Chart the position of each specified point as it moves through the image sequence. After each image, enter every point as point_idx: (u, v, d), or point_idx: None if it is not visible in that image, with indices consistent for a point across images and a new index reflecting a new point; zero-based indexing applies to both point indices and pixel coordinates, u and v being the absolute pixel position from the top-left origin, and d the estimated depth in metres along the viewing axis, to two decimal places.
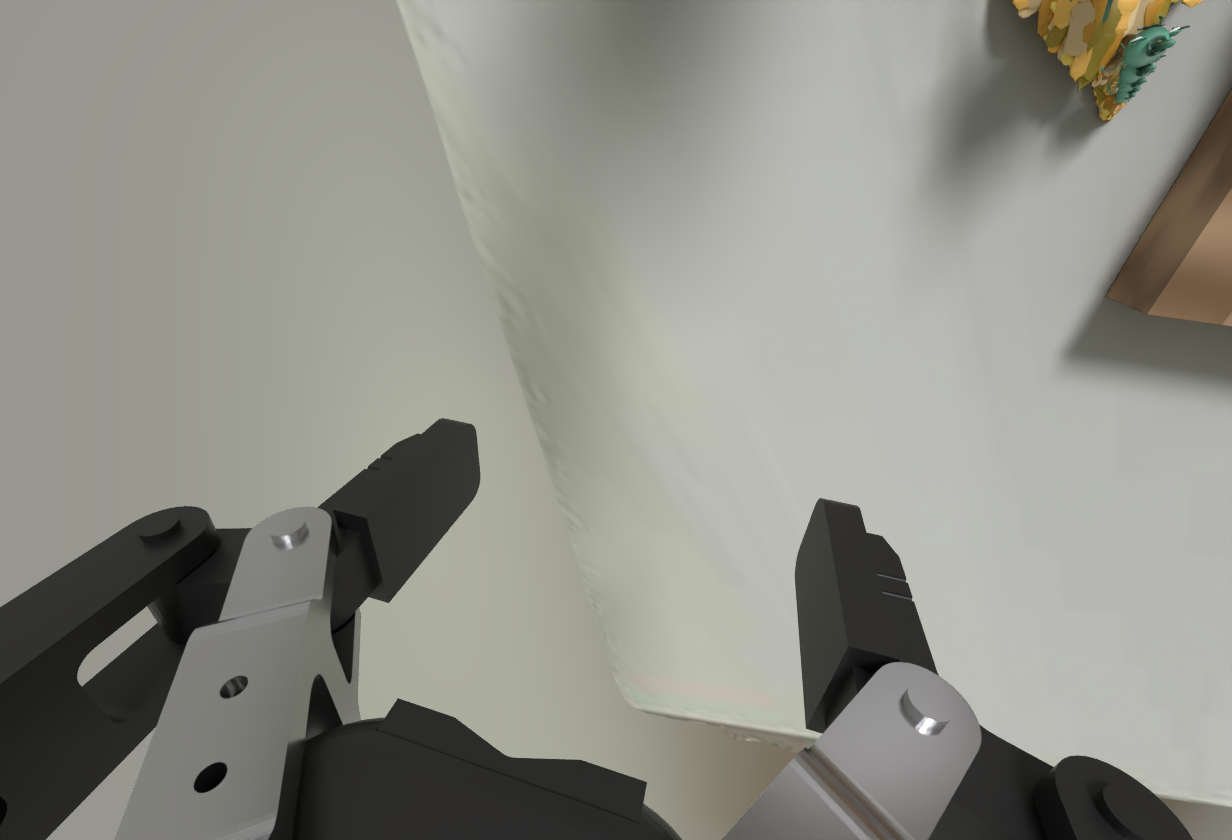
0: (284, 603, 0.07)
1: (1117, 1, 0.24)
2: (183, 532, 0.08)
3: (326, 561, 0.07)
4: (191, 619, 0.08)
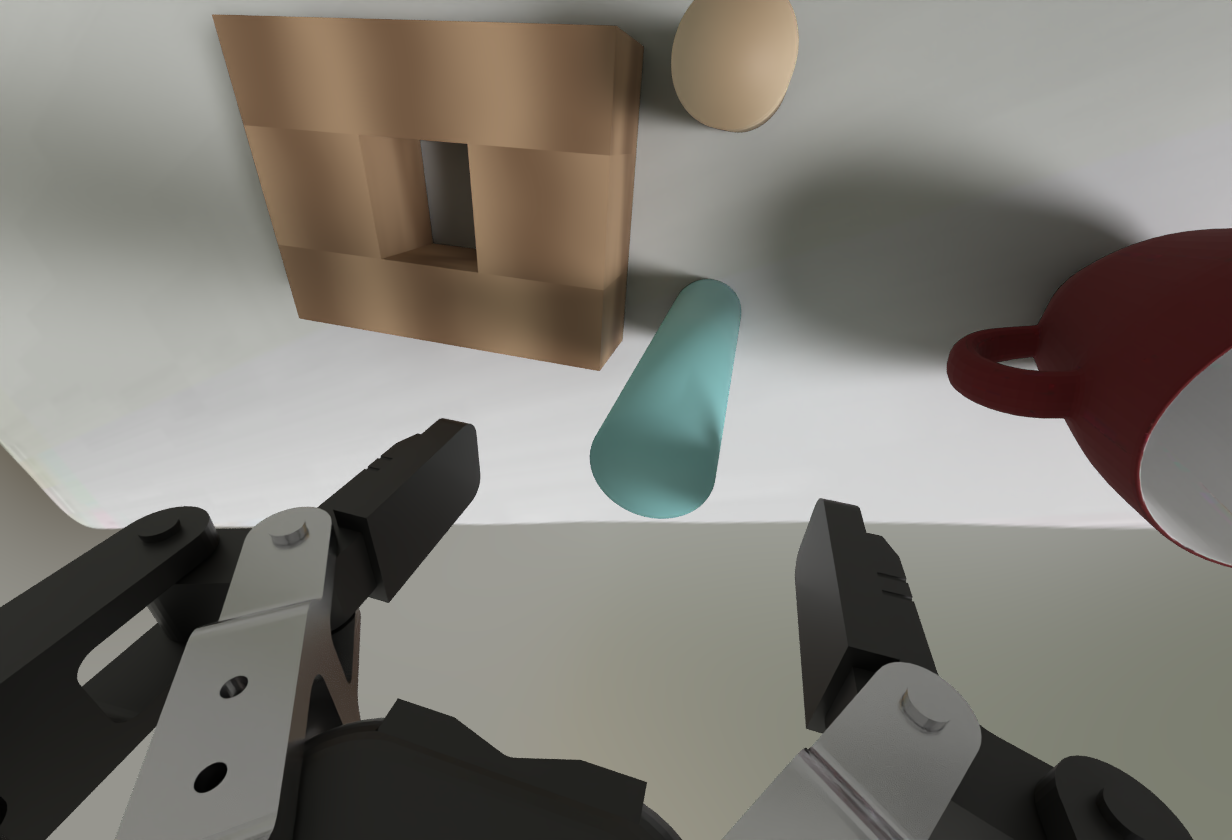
0: (284, 603, 0.07)
1: None
2: (183, 532, 0.08)
3: (326, 561, 0.07)
4: (191, 619, 0.08)
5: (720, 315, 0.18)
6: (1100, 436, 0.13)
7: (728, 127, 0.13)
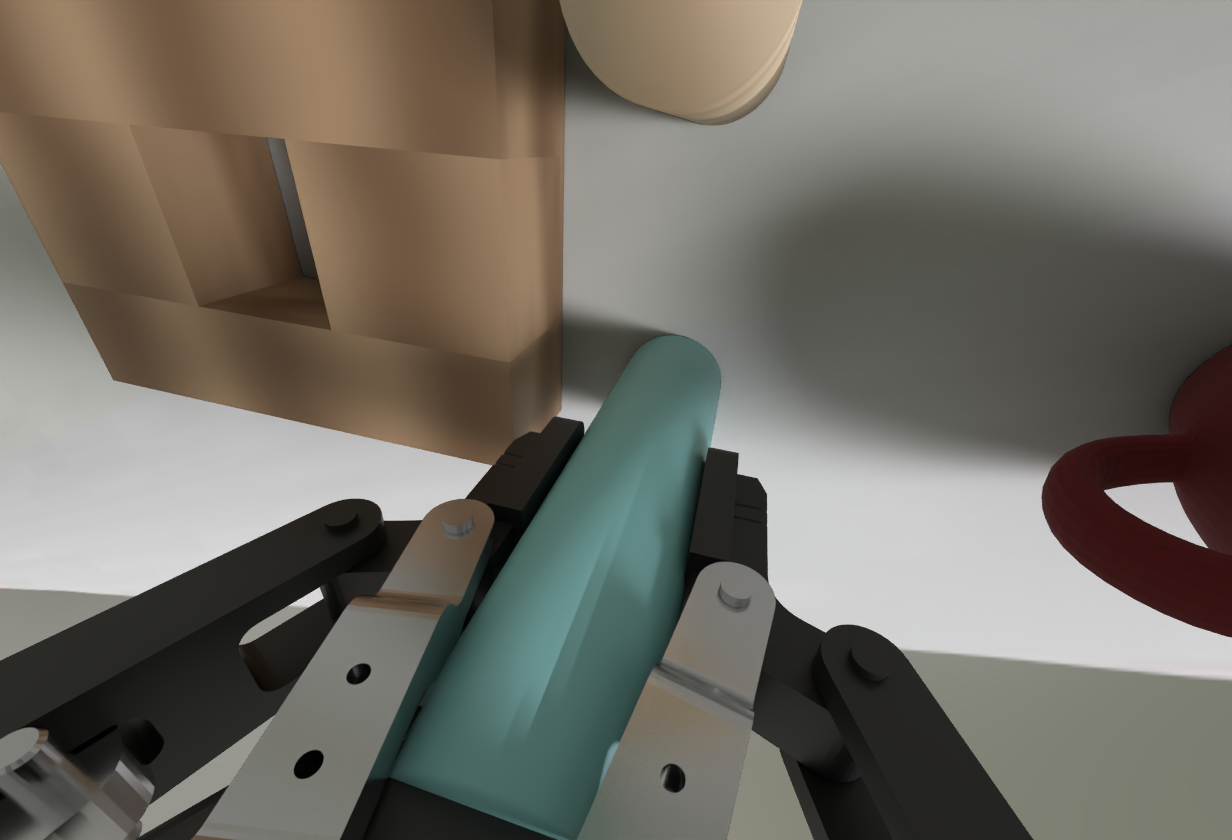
0: (430, 595, 0.07)
1: None
2: (361, 523, 0.08)
3: (476, 564, 0.07)
4: (345, 609, 0.08)
5: (683, 408, 0.12)
6: None
7: (675, 106, 0.07)
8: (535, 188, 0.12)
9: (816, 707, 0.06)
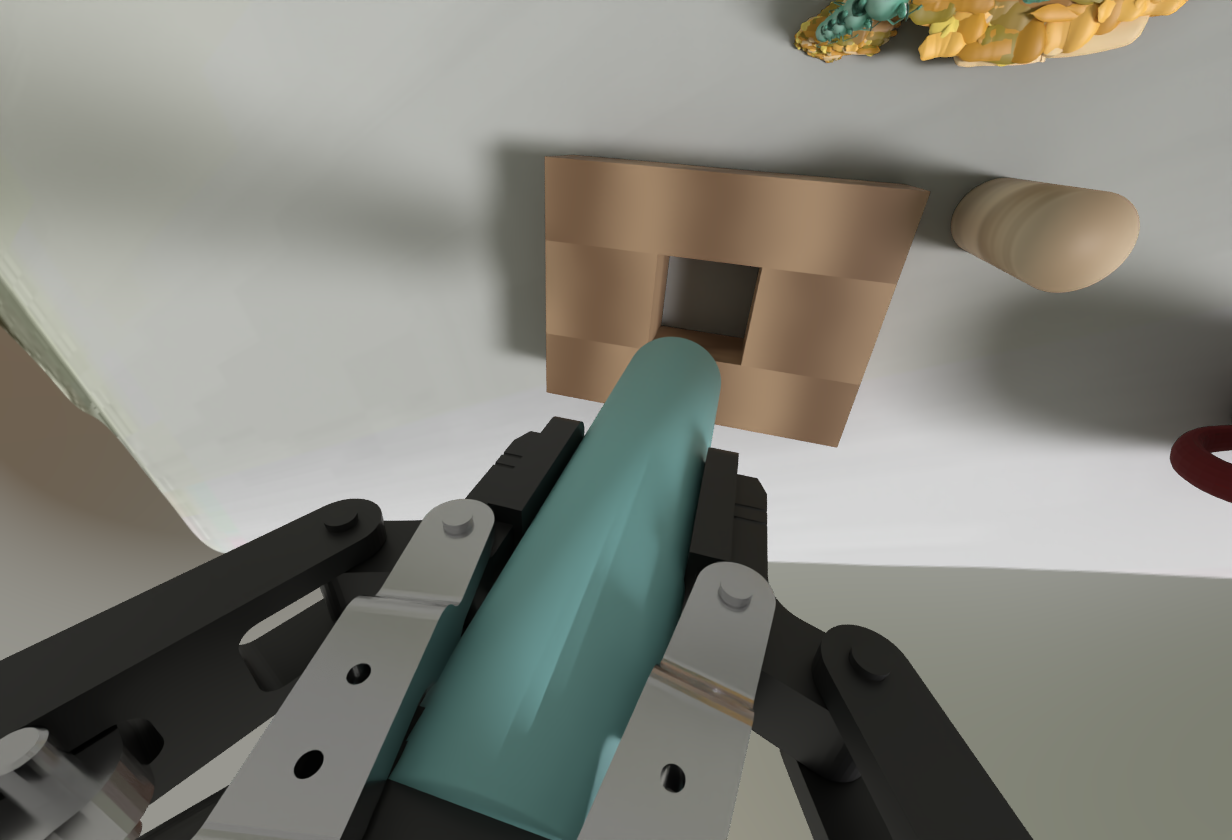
0: (430, 595, 0.07)
1: None
2: (361, 523, 0.08)
3: (476, 564, 0.07)
4: (345, 609, 0.08)
5: (683, 410, 0.12)
6: None
7: (1056, 291, 0.17)
8: None
9: (816, 707, 0.06)
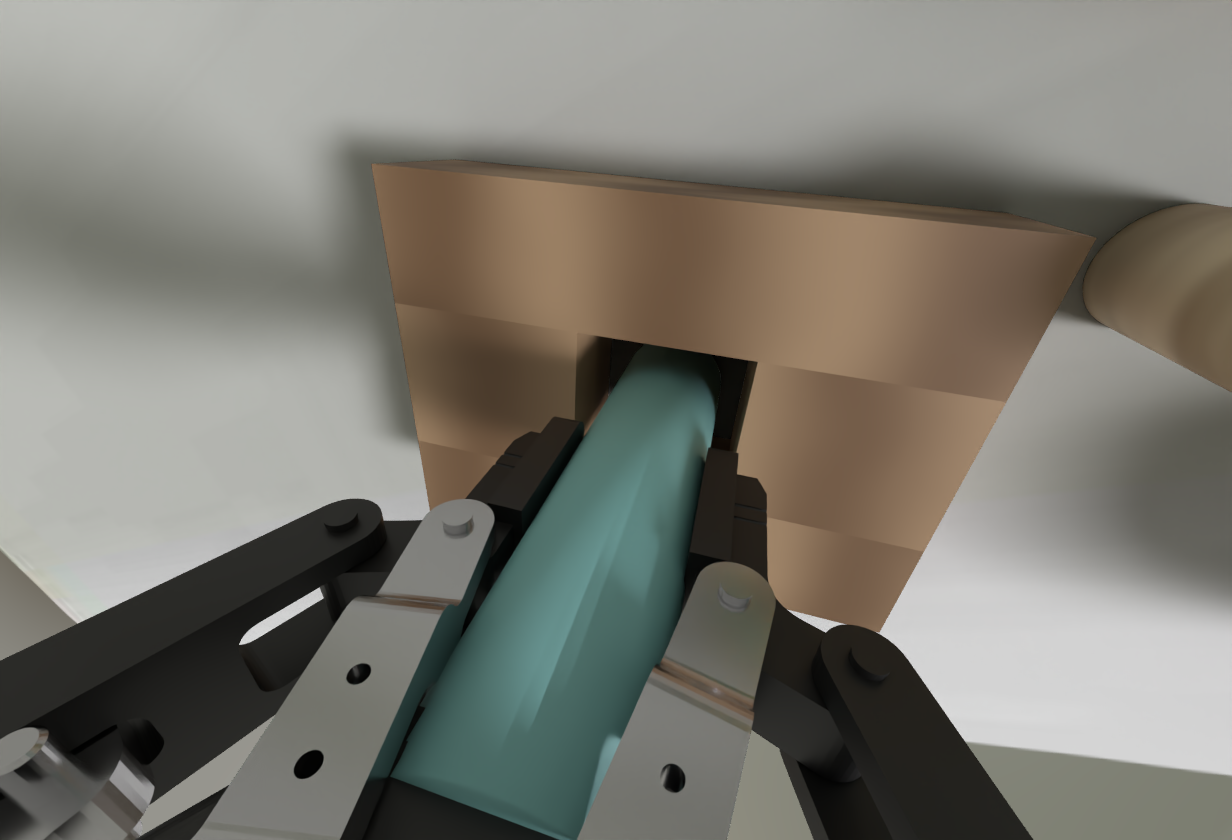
0: (430, 595, 0.07)
1: None
2: (361, 523, 0.08)
3: (476, 564, 0.07)
4: (345, 609, 0.08)
5: (683, 410, 0.12)
6: None
7: None
8: None
9: (816, 707, 0.06)
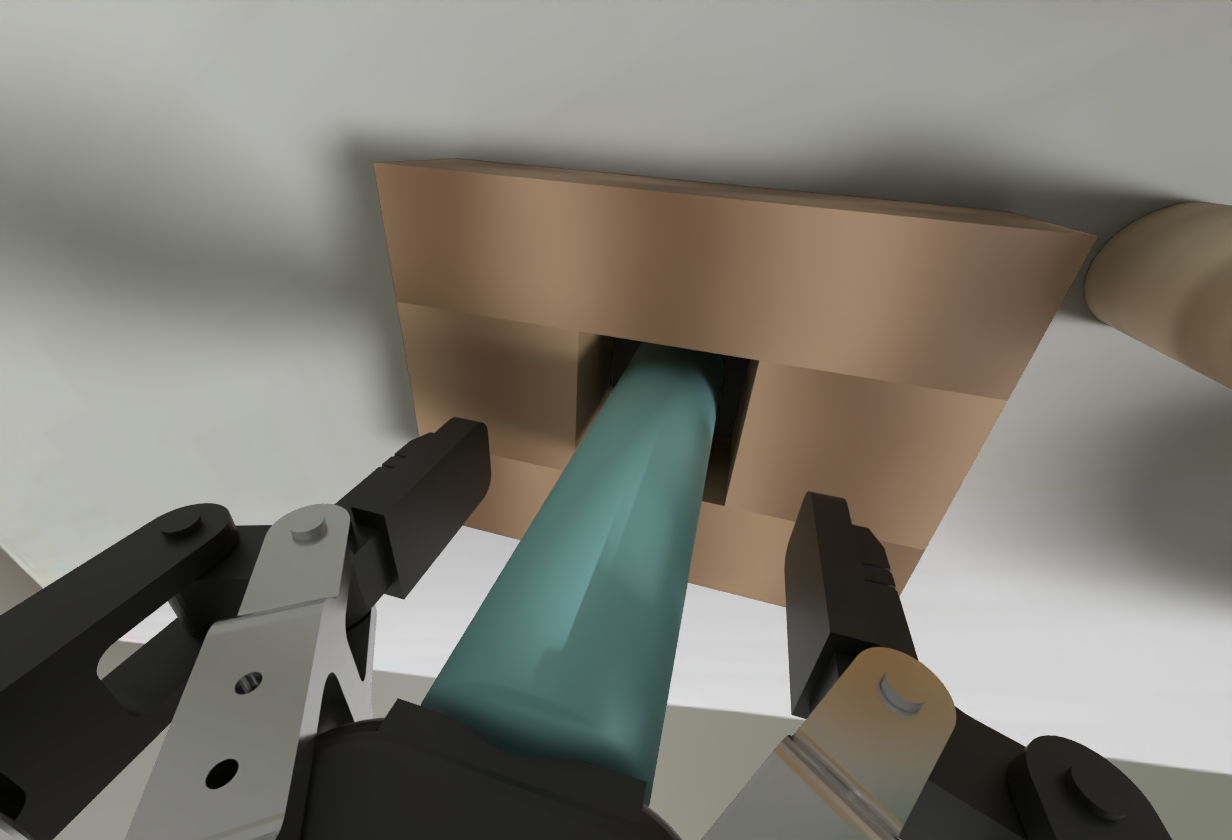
0: (301, 600, 0.07)
1: None
2: (204, 528, 0.08)
3: (343, 559, 0.07)
4: (209, 615, 0.08)
5: (689, 392, 0.13)
6: None
7: None
8: None
9: None
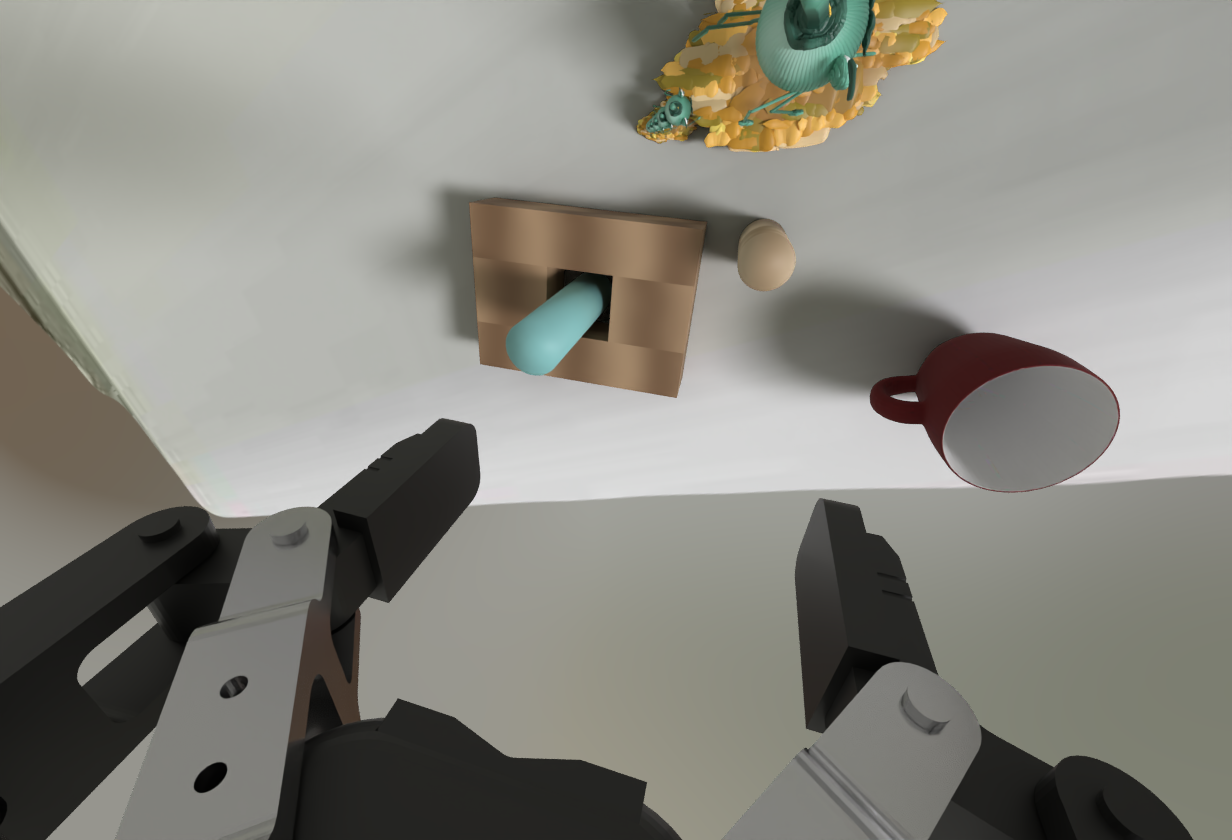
0: (284, 603, 0.07)
1: (715, 79, 0.28)
2: (183, 532, 0.08)
3: (326, 561, 0.07)
4: (191, 619, 0.08)
5: (588, 288, 0.33)
6: (931, 432, 0.29)
7: (763, 290, 0.28)
8: None
9: None
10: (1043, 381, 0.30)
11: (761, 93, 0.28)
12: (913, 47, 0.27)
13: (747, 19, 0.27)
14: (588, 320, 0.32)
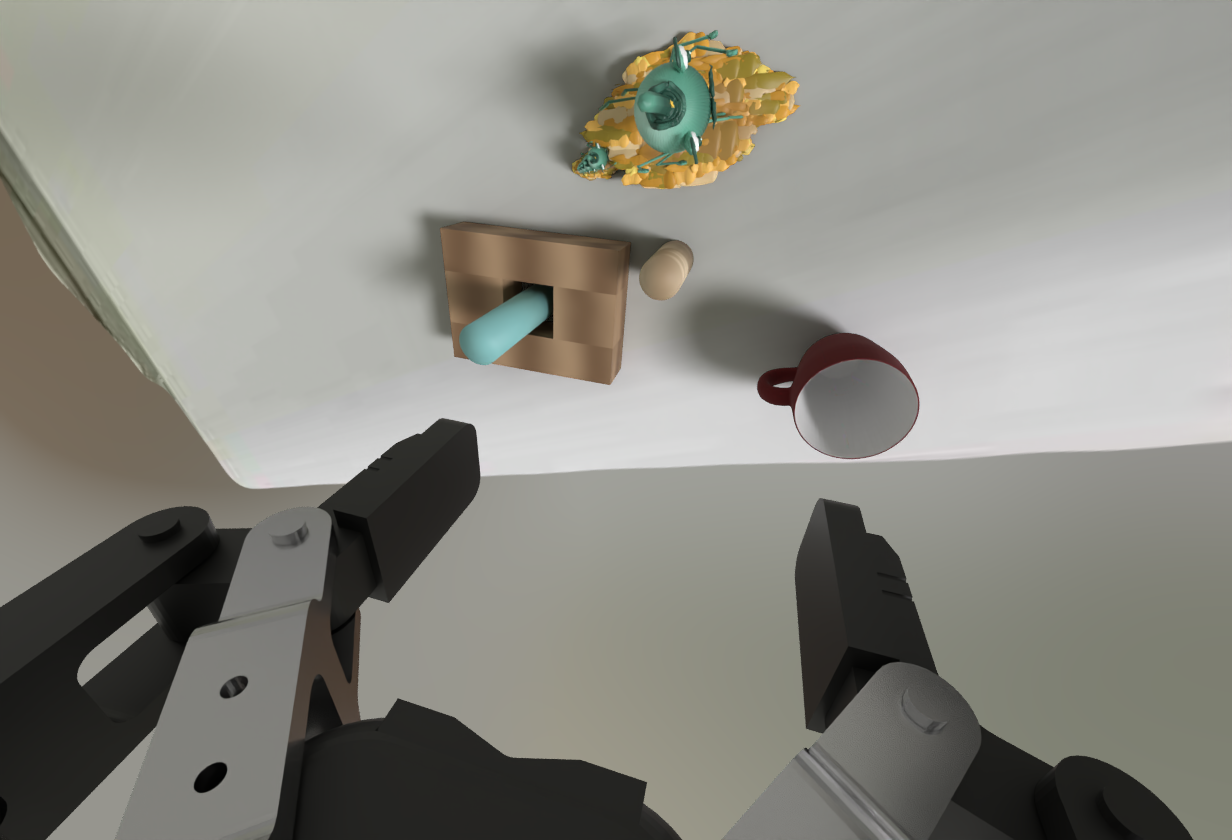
0: (284, 603, 0.07)
1: (625, 134, 0.36)
2: (183, 532, 0.08)
3: (326, 561, 0.07)
4: (191, 619, 0.08)
5: (534, 296, 0.42)
6: (792, 411, 0.36)
7: (660, 299, 0.36)
8: (621, 297, 0.42)
9: None
10: (888, 372, 0.37)
11: None
12: (775, 110, 0.34)
13: None
14: (531, 322, 0.40)
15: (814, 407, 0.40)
